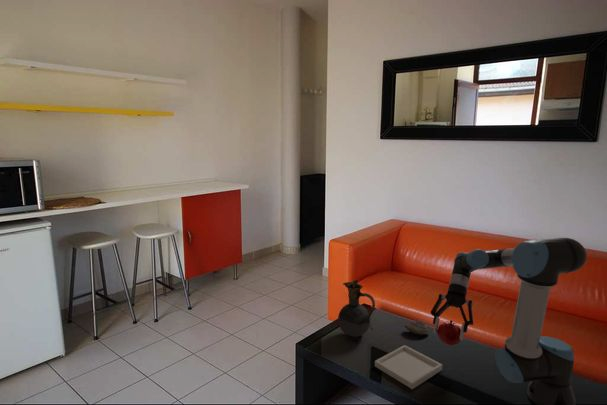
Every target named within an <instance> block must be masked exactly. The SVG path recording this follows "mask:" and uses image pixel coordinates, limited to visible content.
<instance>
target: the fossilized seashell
mask: <svg viewBox="0 0 607 405" xmlns="http://www.w3.org/2000/svg"><path fill="white" fill-rule="evenodd" d="M403 327H404V328H405V329H406V330H408V331H409V332H410V333H412V334H417V335H419V336H425V335H426V336H427V335H429V333H430V332H429V329H428V327H427V325H426V324H425V323H424V322H423V321H421V320H416V321H414V322H413V321H412V322H407V323H405V324H404V326H403Z"/></svg>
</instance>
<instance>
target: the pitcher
mask: <svg viewBox="0 0 607 405" xmlns="http://www.w3.org/2000/svg"><path fill="white" fill-rule="evenodd" d="M359 282H360V280H359V279H356V280H352V281H350V282H349V281H348V282H343V283H342V285H344V286H345V287H346V288H347V290H348V296H347V297H348V304H345V305H344V306H342V308H341V309H340V310H339V313H338V316H337V317H338V318H337V322H338V325H339V326H338V327H340V329H341V331H342V332H343V333H344V334H346V338H347V339H348V340H352V341H360V340H362V339H363V335H365V333H366V332H367V331H368V330H369V328H370V329H371V330H372V331H374V328H373V326H372V325H371V316H372V314H373V312H374V309H375V307H376V301H375V298H374V296H372V295H371V294H369V293H367V292H364V293H362V292H361V289H363V287H364V285H362V284H359ZM361 297H366V298H368V299H370V301H371V306H372V307H371V311H370V313H369V310H368V309H367V308H366V307H365V306H364V305H362V304H360V298H361Z"/></svg>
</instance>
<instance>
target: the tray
mask: <svg viewBox="0 0 607 405" xmlns="http://www.w3.org/2000/svg"><path fill="white" fill-rule="evenodd" d="M374 367H375V368H377V369H378V370H380V371H382V372H384V373H385V374H387V375H388V376H389V377H391V378H394V379H395V380H396V381H398V382H400V383H401V384H403V385H405V386H406V387H408V388H409V389H411V390H413V389H415V388H417V387H418V386H420V385H421V384H423V383H424V382H426V381H427V380H429V379H431V378H432V377H434V376H435V375H436V374H438V373H440V372H442V371H443V364H442V363H440V362H438V361H436V360H435V359H432V358H431V357H429V356H427V355H425V354H423V353H421V352H420V351H417V350H415V349H414V348H411V347H410V346H407V345H405V344H404V345H402V346H400V347H398V348H396V349H395V350H393V351H390V352H389V353H387V354H385V355H383V356H381V357H379V358H377V359H375V361H374Z"/></svg>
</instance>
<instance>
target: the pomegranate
mask: <svg viewBox="0 0 607 405" xmlns="http://www.w3.org/2000/svg"><path fill="white" fill-rule="evenodd" d="M445 321H446V322H447V323H446V322H444V323H440V324H439V325H438V328H437V332H436V334H437V337H438V339H439V340H440V342H442V343H444V344H446V345H447V346H456V345H458V344H460V342H461V341H462V340H460V338H459V337H460V332H461V328H460V326H458V325H456V324H457V322H453V320H449V321H448V320H446V319H445Z"/></svg>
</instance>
